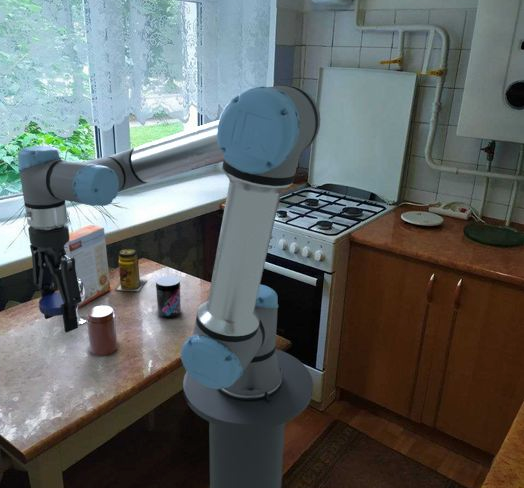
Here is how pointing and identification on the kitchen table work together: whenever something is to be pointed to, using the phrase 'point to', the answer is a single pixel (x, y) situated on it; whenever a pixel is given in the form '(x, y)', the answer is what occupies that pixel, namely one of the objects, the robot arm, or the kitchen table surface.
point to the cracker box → (89, 260)
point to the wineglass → (82, 292)
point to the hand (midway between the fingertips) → (61, 322)
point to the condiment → (129, 271)
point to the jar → (102, 330)
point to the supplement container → (168, 296)
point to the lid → (52, 304)
